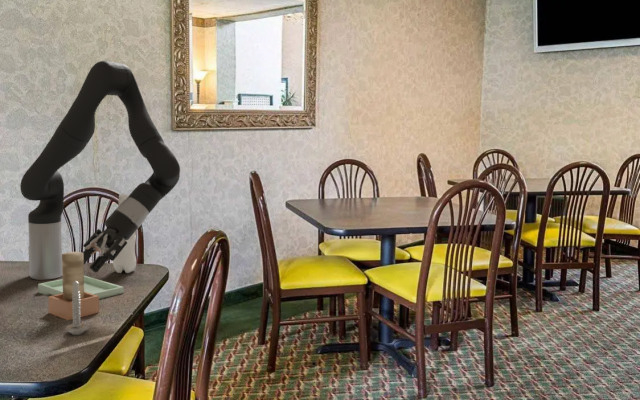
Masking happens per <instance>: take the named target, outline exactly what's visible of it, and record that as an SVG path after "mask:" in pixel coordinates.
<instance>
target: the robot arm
mask: <svg viewBox="0 0 640 400" xmlns="http://www.w3.org/2000/svg"><path fill="white" fill-rule="evenodd" d="M107 96H115V97H116V96H117V97H118V98H119V99H120V101H121V102H122V104H123V105H124V107H125V109H126V111H127V117H128V118H127V119H128V120H127V121H128V123H127V124H128V130H129V134H130V136H131V139H132V141H133V142H134V144H135V146H136V148H137V149H138V151H139V153H140V154H141V156H142V157H143V158H145V159H146V160H147V162H148V164H149V165H150V167H151V169H152V174H151V175H150V176H149V177H148V179H146V181H145V182H142V183H139V184H138V185H137V186H136V187H135V188H134V189H133V190H132V191H131V193H130V194H128V195H129V196H128V197H127V198H126V199H125V200H124V201H123V202H122V203H121V204H120V205H119V204H118V206H117V207H116V208H115V209H114V210H113V212H112V213H111V214H110V215H109V216H108V217H107V218H106V220H105V221H104V226H105V227H106V229H104V230H103V231H102V230H101V229H99V228H98V229H97V230H95V232H94V233H93V234H92V235H91V236H90V237H89V238H88V239H87V240H86V241H85V243H84V244H83V245H82V247H84V250H83V251H82V253H84V265H85V264H86V263H88V261H89V259H90V258H91V257H93V255H94V254H95V253H97V252H99V253H100V254H99V255H98V256H97V257H96V258H95V259H94V260H93V262H92V263H91V264H90V266H89V269H90V270H91V271H93V272H94V273H98V272H99V271H100V270H101V268H102V267H103V266H104V265H105V264H106V262H109V261H112V262H113V260H114V259H115V258H116V257H117V256H118V254H119V253H120V252H121V251H122V249H123V248H124V247H125V245H126V244H127V242H126V241H125V240H128V239H129V238H130V237H131V236H132V235H133V234H134V232H135V231H136V232H137V230H138V229H139V228H140V226H141V225H142V224H143V223H144V222H145V221H146V219H147V217H148V215H149V214H150V213H151V212H152V211H153V210H154V209H155V207H156V206H157V204H158V203H159V202H160V201H161V200H162V199H163V198H164V197H166V195H167V194H168V193H170V192H171V191H172V190H173V189H174V188H175V186H177V184H178V183H179V180H180V173H181V166H180V164H179V161H178V160H177V158H176V156H175V155H174V153H173V151H171V150H170V148H169V147H168V146H167V144H166V143H165V141H164V139H163V138H162V136H161V134H160V132H159V130H158V129H157V127H156V126H155V124H154V122H153V120H152V118H151V116H150V114H149V112H148V109H147V107H146V104H145V101H144V99H143V96H142V94H141V91H140V88H139V86H138V82H137V81H136V78H135V75H134V73H133V71H132V69H131V68H130V67H129V66H128V65H126V64H124V63H121V62H115V61H110V60H109V61H108V60H100V61H98V62H95V63H94V65H92V67H91V68H90V70H89V72H88V73H87V75H86V77H85V79H84V81H83V84H82V86H81V88H80V90H79V92H78V94H77V95H76V98H75V99H74V101H73V103H72V105H71V106H70V108H69V110H68V111H67V113H66V114H65V116H64V117H63V119H62V120H61V122H60V123H59V125H58V126H57V127H56V129H55V131H54V133H53V134H52V136H51V138H50V140H49V141H48V142H47V143H46V145H45V147H44V149H43V150H42V151H41V152H40V154H39V155H38V157H36V159H35V161H34V162H33V163H32V164H30V166H29V168H27V170H26V171H25V173H24V174H23V175H22V178H21V181H20V184H19V185H20V192H21V195H22V197H24V199H26V200H29V201H39V203H38V204H37V205H38V206H37V207H36V208H34V209H33V210H30V212H28V214H27V215H28V217H27V219H28V220H27V222H28V269H29V270H28V271H29V272H28V274H29V277H30V278H31V279H33V280H38V281H39V280H52V279H58V278H60V277H63V276H62V254H63V247H62V246H63V244H62V243H63V242H62V214H63V212H64V205H65V203H64V198H65V197H64V196H65V183H64V179H63V176H62V175H61V173H60V172H59V171H58V170H60V169H61V168H62V167H63V166H64V165H66V164H67V163H69V162H71V161H72V160H73V159H74V158H76V157H77V156H78V155H79V154H81V152H83V150H84V149H85V148H86V147H87V145H88V143H90V141H91V140H92V137H93V136H94V134H95V128H96V116H95V115H96V112H97V109H98V108H99V105H100V104H101V103H102V101H104V98H106V97H107ZM114 252H115V253H114Z"/></svg>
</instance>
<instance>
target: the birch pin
mask: <svg viewBox="0 0 640 400" xmlns="http://www.w3.org/2000/svg"><path fill="white" fill-rule="evenodd" d="M84 269H85V264H84V253H83V251H68V252H64V253H63V252H62V276H61V277H62V279H63V300H65V301H67V302H71V301H73V299H72V298H73V297H72V295H73V294H72V293H73V282H75V281H77V282H78V283H79V291H80V292H79V293H80V299H84V276H85V270H84Z"/></svg>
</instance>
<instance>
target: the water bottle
mask: <svg viewBox="0 0 640 400" xmlns="http://www.w3.org/2000/svg"><path fill="white" fill-rule="evenodd" d="M129 195H130V194H125V193H124V194H123V193H122V194H119V195H118V201H117V203H118V206H119V205H120V204H121V203H122V202H123V201H124V200H125V199H126V198H127V197H128V196H129ZM136 232H137V230H136V231H135V232H134V234H133V235H132V236H131V237H130V238H129V239H128V240H125V241H126V242H127V244H126V245H125V247H124V248H123V249H122V251H121V252H120V253H119V254H118V256H117V257H116V258H115V259H114V260H113V261H112V266H113V268H114V270H115V272H116V273H117V274H122V272H123V271H124V272H125V274H131V273H132V272H134V271H135V270H136V267H137V257H136V252H135V251H136V246H135V245H136V241H137V235H136ZM114 253H115V252H114Z"/></svg>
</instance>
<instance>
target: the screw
mask: <svg viewBox="0 0 640 400" xmlns="http://www.w3.org/2000/svg"><path fill="white" fill-rule="evenodd" d="M79 292H80V291H79V283H78V282H77V281H75V282H73V293H72V294H73V295H72V297H73V298H72V299H73V301H72V302H73V303H72V304H73V306H72V307H73V308H72V309H73V311H72V312H73V316H72V317H73V319H72V320H71V322H72V323H71V324H68V325H67V326H66V327H65V330H64V331H66V332H68V333H70V334H71V335H72V336H80V335H82V334H84V332H85V331H87V330H88V329H89V325H87V323H82V317H81V316H80V315H81V314H80V313H81V311H80V310H81V309H80V307H81V306H80V305H81V304H80V300H81V299H80V293H79Z"/></svg>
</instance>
